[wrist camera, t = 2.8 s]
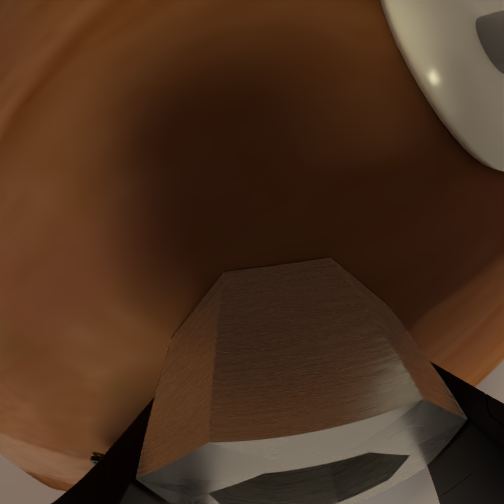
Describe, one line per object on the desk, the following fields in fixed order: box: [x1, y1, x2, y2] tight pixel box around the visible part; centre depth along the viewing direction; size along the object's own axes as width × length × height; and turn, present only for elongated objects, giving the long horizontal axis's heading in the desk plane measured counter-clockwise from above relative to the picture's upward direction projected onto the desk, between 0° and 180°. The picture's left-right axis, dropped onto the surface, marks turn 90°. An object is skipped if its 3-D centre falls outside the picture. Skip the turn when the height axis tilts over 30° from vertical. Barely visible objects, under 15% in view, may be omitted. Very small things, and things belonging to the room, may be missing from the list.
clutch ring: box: [136, 257, 467, 504], centre depth 7 cm, size 7×7×5 cm
